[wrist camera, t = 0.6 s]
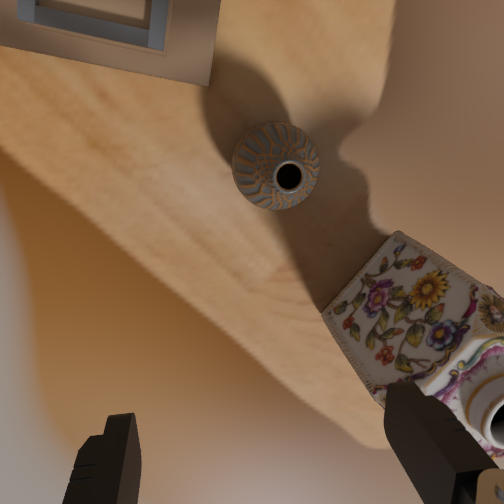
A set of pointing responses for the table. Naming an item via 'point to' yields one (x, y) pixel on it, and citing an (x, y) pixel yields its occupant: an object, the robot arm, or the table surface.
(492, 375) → the decorative jar
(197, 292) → the table surface
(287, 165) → the vase
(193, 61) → the display stand
